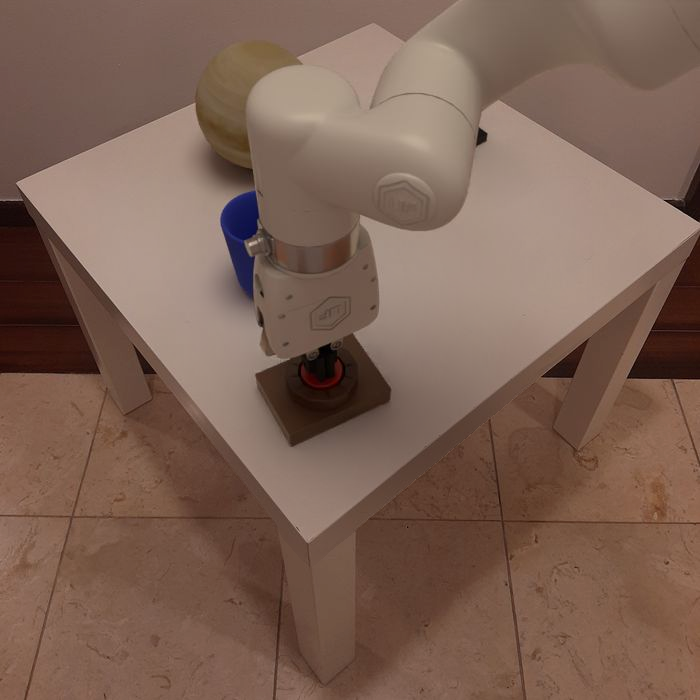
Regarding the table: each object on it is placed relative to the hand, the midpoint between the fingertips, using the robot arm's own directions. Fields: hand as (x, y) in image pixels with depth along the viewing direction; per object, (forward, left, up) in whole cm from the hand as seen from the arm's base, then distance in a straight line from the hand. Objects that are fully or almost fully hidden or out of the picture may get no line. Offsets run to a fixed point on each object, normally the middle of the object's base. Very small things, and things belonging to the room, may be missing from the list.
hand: (320, 368), depth 71 cm
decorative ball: (+16, -35, -4) cm, 39 cm away
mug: (+8, -15, -4) cm, 17 cm away
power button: (0, 0, -2) cm, 2 cm away
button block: (0, 0, -4) cm, 4 cm away
